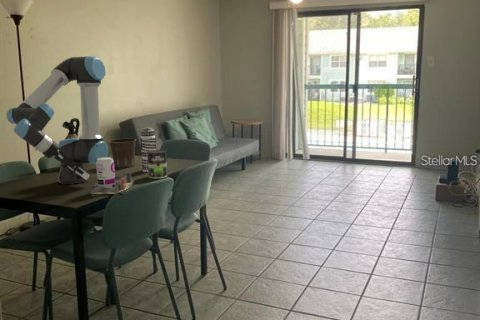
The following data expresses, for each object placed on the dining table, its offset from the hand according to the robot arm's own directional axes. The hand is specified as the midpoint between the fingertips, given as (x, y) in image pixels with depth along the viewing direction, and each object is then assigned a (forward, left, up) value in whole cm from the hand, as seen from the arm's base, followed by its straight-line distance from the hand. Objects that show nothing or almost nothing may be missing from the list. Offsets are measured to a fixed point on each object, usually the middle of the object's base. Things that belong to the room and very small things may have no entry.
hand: (84, 175), depth 223 cm
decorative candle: (+22, +52, -10) cm, 57 cm away
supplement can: (+9, +5, -8) cm, 13 cm away
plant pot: (+4, +68, -10) cm, 69 cm away
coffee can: (+29, +35, -10) cm, 47 cm away
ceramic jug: (-27, +71, -10) cm, 77 cm away
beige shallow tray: (+10, +12, -9) cm, 19 cm away
